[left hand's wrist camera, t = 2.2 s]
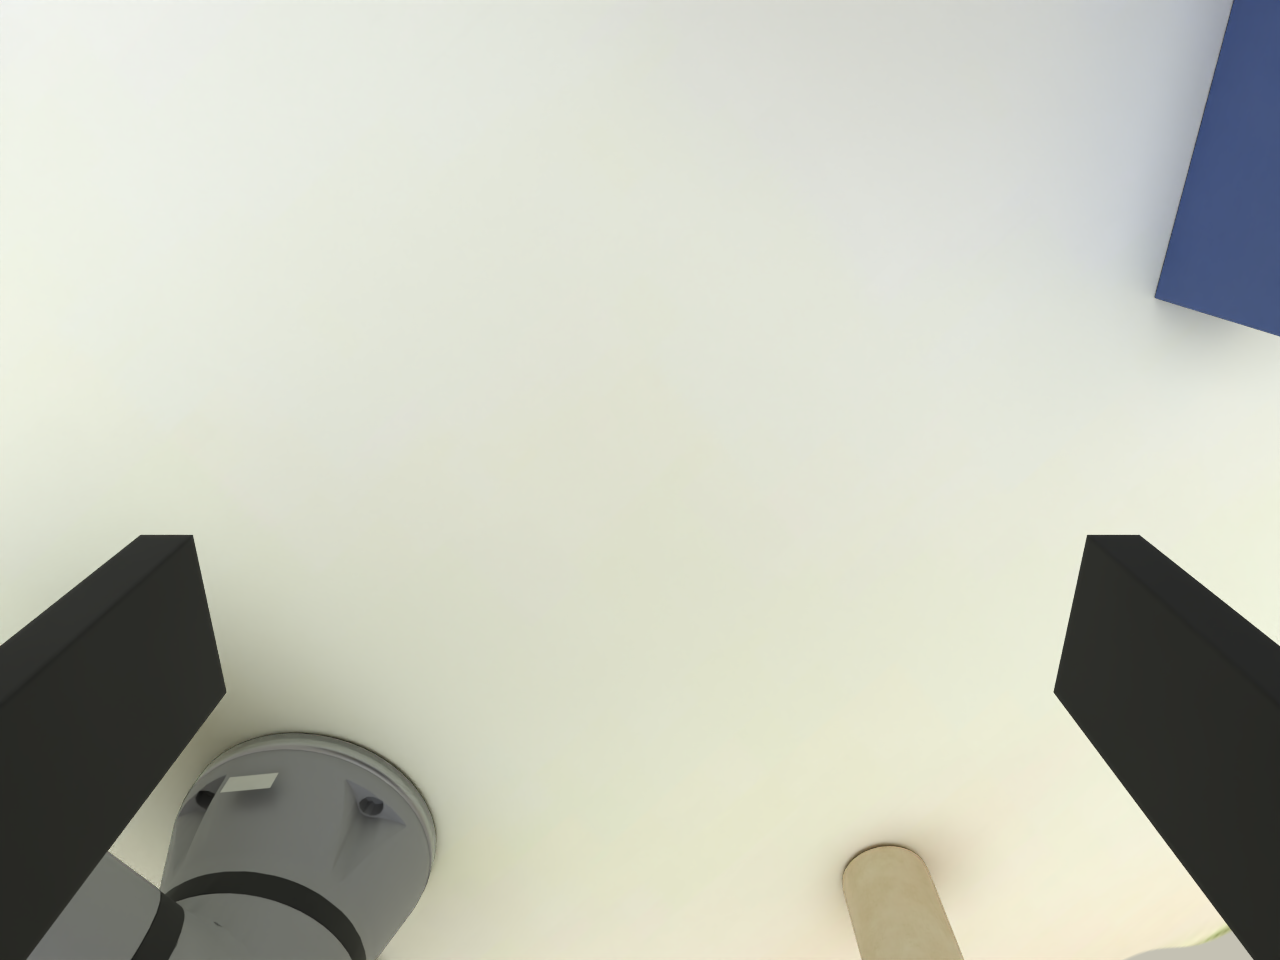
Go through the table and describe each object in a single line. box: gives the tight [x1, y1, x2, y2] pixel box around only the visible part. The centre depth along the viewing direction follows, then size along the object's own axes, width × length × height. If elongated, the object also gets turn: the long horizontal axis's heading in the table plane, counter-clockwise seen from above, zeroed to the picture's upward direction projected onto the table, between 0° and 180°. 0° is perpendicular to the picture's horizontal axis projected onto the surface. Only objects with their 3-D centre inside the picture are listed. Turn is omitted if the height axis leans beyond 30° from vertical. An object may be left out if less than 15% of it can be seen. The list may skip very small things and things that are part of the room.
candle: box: [843, 846, 964, 960], centre depth 50 cm, size 6×6×10 cm
